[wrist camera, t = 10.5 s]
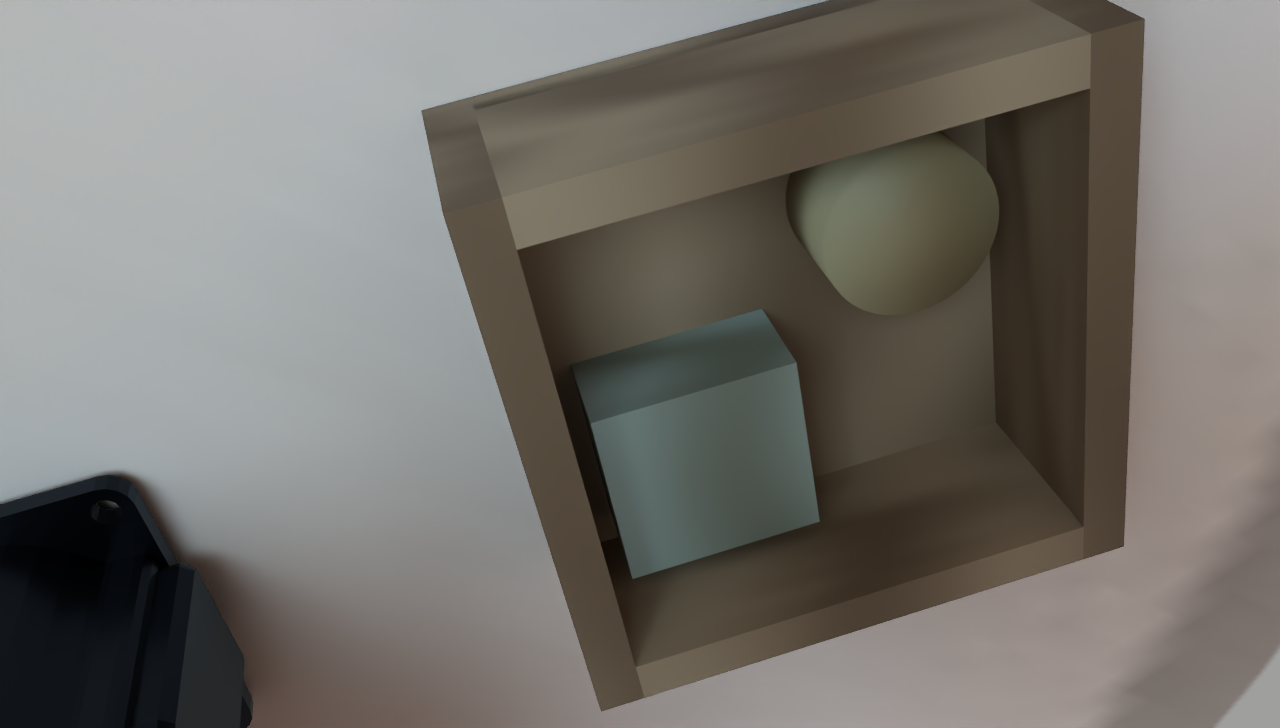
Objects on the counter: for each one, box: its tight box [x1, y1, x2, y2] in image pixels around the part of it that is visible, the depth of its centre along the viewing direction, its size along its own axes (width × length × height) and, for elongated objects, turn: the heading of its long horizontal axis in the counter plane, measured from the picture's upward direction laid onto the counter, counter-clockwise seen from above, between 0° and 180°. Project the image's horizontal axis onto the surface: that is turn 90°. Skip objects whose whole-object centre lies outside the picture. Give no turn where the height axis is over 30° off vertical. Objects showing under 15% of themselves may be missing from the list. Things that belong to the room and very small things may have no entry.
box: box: [422, 0, 1145, 711], centre depth 21 cm, size 10×10×4 cm
